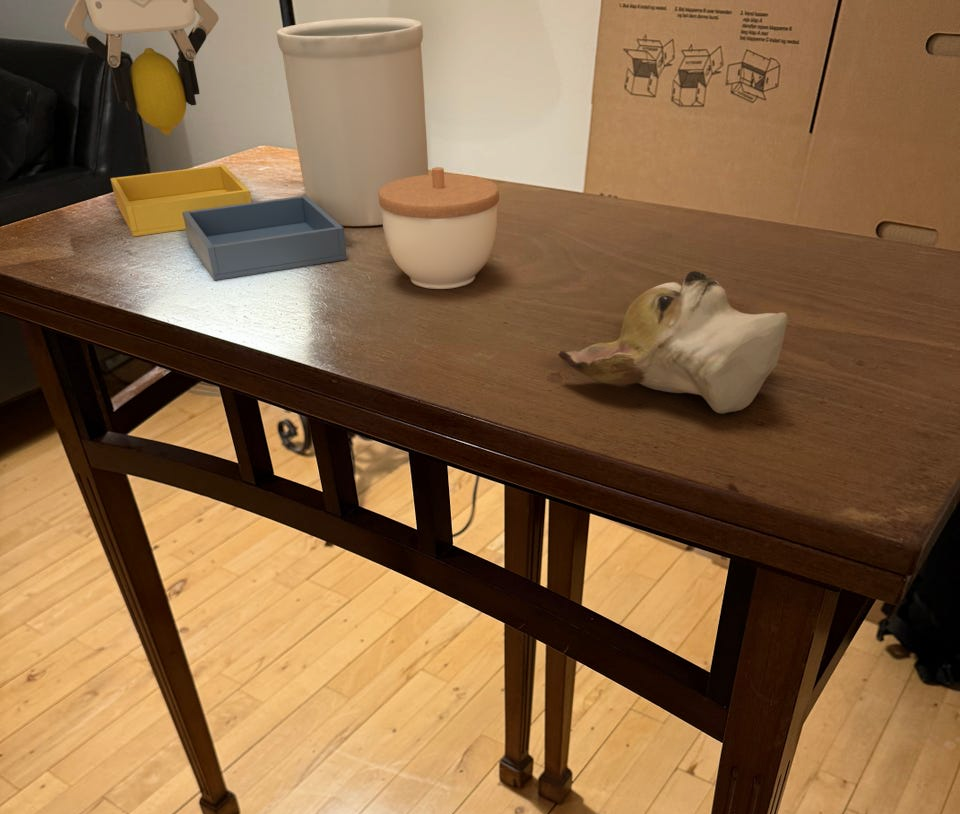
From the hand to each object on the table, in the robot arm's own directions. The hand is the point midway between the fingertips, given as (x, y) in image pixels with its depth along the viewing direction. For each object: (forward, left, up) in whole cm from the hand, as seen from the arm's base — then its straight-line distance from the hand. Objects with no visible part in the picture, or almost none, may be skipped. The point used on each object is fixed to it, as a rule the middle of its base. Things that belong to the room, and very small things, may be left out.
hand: (160, 104), depth 97 cm
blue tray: (+5, -18, -11) cm, 22 cm away
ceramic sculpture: (+24, -64, -11) cm, 69 cm away
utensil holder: (+19, -9, -11) cm, 24 cm away
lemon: (0, 0, -3) cm, 3 cm away
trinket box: (+18, -34, -11) cm, 40 cm away
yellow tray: (0, 0, -11) cm, 11 cm away
